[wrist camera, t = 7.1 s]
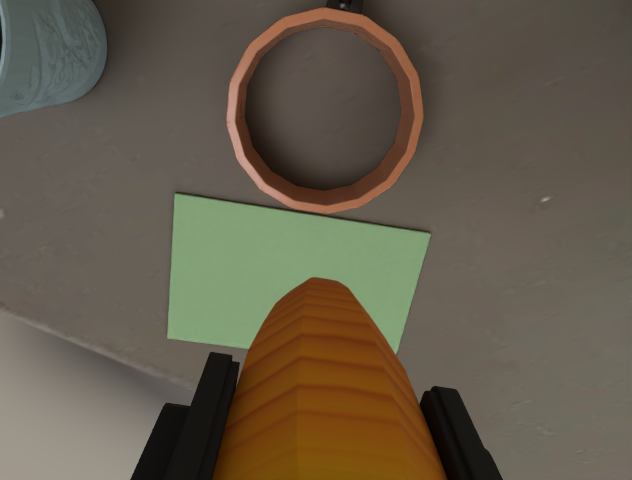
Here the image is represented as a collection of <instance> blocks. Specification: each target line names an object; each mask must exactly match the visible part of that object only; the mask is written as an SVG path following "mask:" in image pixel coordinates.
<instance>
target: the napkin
mask: <svg viewBox="0 0 632 480" xmlns="http://www.w3.org/2000/svg"><path fill="white" fill-rule="evenodd" d="M430 236H431V233H429V232H423V231H416V230H410V229H404V228H397V227H391V226H384V225H378V224H372V223H365V222H359V221H353V220H346V219H340V218H334V217H327V216H321V215H315V214H308V213H302V212H295V211H289V210H283V209H276V208H270V207H264V206H257V205H251V204H245V203H238V202H232V201H225V200H219V199H213V198H206V197H200V196H194V195H187V194H181V193H175V199H174V219H173V238H172V257H171V276H170V296H169V315H168V334H167V338H170V339H177V340H185V341H193V342H200V343H208V344H216V345H224V346H231V347H239V348H247V349H249V348H250V346H251V344H252V342H253V340H254V338H255V337H256V335H257V333H258V331H259V329H260V327H261V325H262V324H263V322H264V320H265V319H266V317H267V316H268V314H269V312H270V311H271V309H272V308H273V306H274V305H275V303H276V302H277V301H279V300H280V299H281V298H282V297H283V296H285V295H286V294H287V293H288V292H289V291H291V290H292V289H294V288H295V287H297V286H298V285H300V284H302V283H303V282H305V281H306V280H308V279H309V278H311V277H319V278H325V279H331V280H336V281H339V282H340V283H342V284H343V285H345V286H346V287H348V288H349V289H350V290H351V292H352V293H353V294H354V296H355V297H356V298H357V299H358V301H359V302H360V303H361V305H362V306H363V307H364V309H365V310H366V311H367V313H368V314H369V315H370V317H371V318H372V319H373V321H374V322H375V324H376V325H377V327H378V328H379V330H380V331H381V332H382V334H383V335H384V337H385V338H386V340H387V341H388V343H389V345H390V346H391V348H392V350H393V351H394V353H395V355H396V354H397V351H398V347H399V344H400V340H401V337H402V333H403V330H404V326H405V323H406V319H407V316H408V313H409V309H410V306H411V302H412V299H413V295H414V292H415V288H416V285H417V281H418V278H419V274H420V271H421V267H422V264H423V260H424V257H425V253H426V250H427V246H428V243H429V239H430Z"/></svg>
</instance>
